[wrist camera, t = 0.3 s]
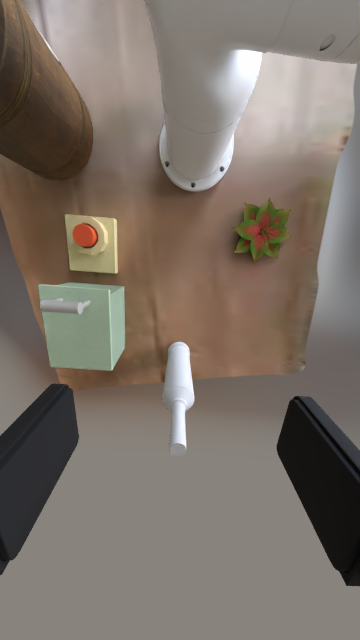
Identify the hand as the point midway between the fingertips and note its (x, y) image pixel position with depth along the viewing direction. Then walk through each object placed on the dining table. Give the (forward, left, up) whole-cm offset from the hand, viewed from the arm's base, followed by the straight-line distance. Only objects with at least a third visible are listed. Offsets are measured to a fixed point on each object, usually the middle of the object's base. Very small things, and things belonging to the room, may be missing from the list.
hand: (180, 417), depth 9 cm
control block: (-7, -18, -36) cm, 40 cm away
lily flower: (-12, +15, -36) cm, 40 cm away
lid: (+8, -18, -27) cm, 33 cm away
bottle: (+15, +1, -36) cm, 39 cm away
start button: (-8, -18, -32) cm, 38 cm away
